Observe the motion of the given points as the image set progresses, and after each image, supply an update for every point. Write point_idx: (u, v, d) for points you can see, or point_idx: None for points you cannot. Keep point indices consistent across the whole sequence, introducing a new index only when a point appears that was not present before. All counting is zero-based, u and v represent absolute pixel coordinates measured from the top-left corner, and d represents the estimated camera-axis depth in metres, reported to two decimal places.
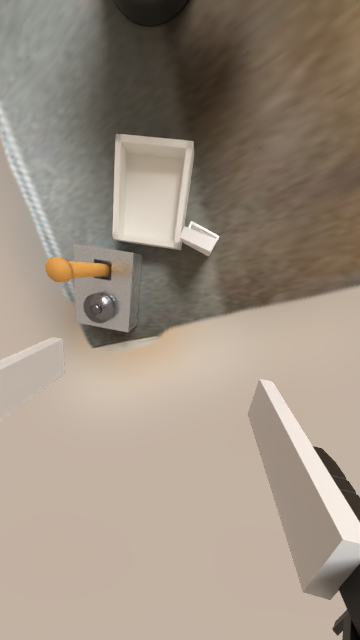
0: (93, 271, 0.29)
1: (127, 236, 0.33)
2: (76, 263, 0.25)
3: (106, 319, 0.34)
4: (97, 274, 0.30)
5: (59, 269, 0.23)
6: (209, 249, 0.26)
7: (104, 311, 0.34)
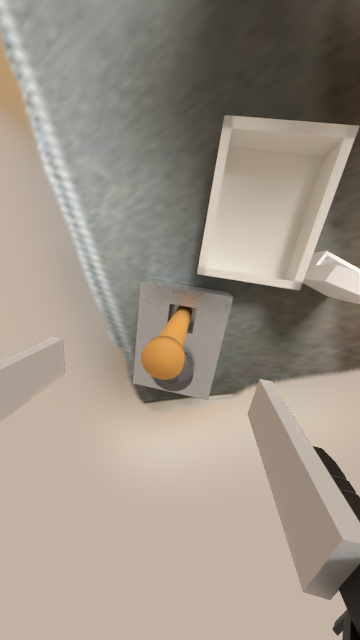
0: None
1: (221, 271, 0.22)
2: (178, 334, 0.15)
3: (183, 387, 0.24)
4: None
5: (167, 360, 0.13)
6: None
7: (181, 376, 0.24)
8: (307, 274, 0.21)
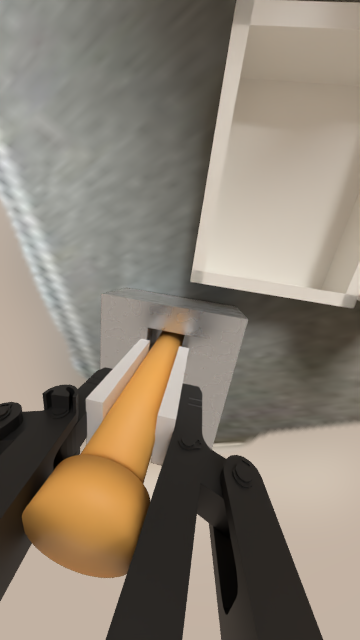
0: None
1: (227, 278, 0.14)
2: (143, 419, 0.07)
3: None
4: None
5: (93, 543, 0.04)
6: None
7: None
8: None
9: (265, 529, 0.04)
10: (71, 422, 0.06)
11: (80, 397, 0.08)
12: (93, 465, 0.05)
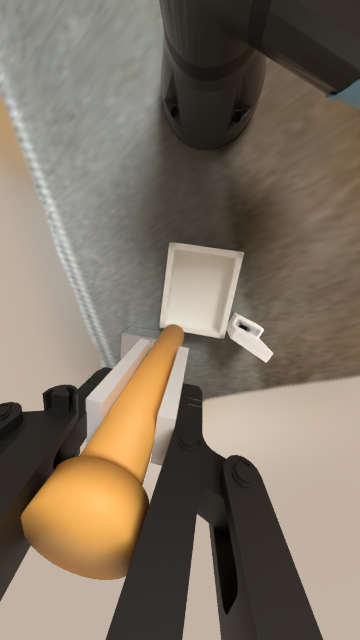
0: None
1: None
2: (142, 420, 0.07)
3: None
4: None
5: (92, 545, 0.04)
6: (264, 360, 0.27)
7: None
8: (228, 328, 0.34)
9: (265, 529, 0.04)
10: (71, 422, 0.06)
11: (80, 397, 0.08)
12: (92, 467, 0.05)
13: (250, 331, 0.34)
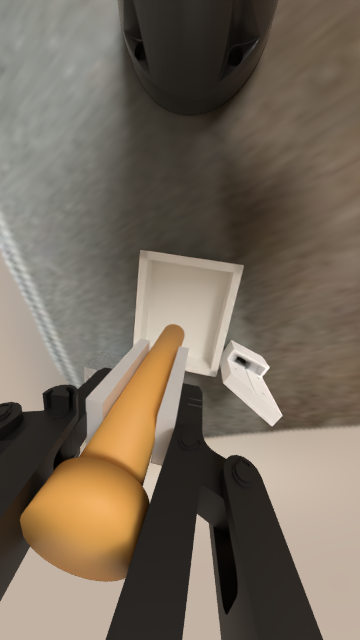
0: None
1: None
2: (143, 421, 0.07)
3: None
4: None
5: (92, 547, 0.04)
6: (269, 422, 0.19)
7: None
8: (222, 364, 0.25)
9: (265, 529, 0.04)
10: (71, 422, 0.06)
11: (80, 397, 0.08)
12: (92, 468, 0.05)
13: (251, 366, 0.26)
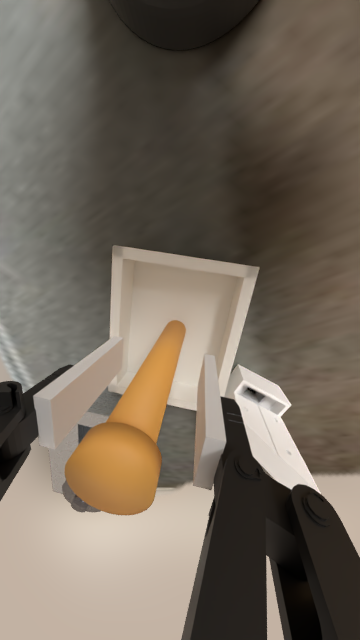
0: (173, 377, 0.12)
1: None
2: (153, 399, 0.08)
3: None
4: None
5: (120, 485, 0.06)
6: None
7: None
8: None
9: (354, 582, 0.04)
10: (15, 417, 0.06)
11: (33, 394, 0.08)
12: (118, 428, 0.06)
13: (265, 400, 0.20)
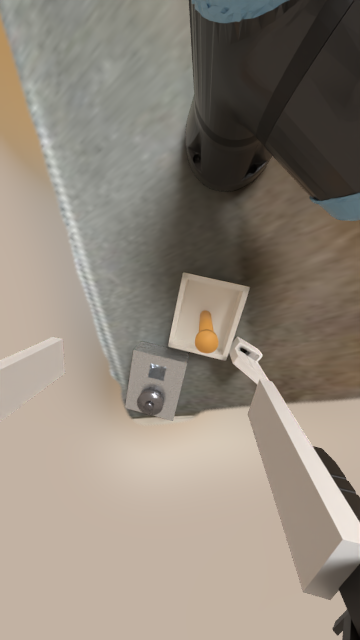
0: None
1: (181, 346, 0.37)
2: (211, 329, 0.26)
3: (156, 413, 0.39)
4: None
5: (209, 342, 0.23)
6: None
7: (155, 407, 0.39)
8: (231, 352, 0.37)
9: None
10: None
11: None
12: (208, 330, 0.24)
13: (250, 355, 0.38)
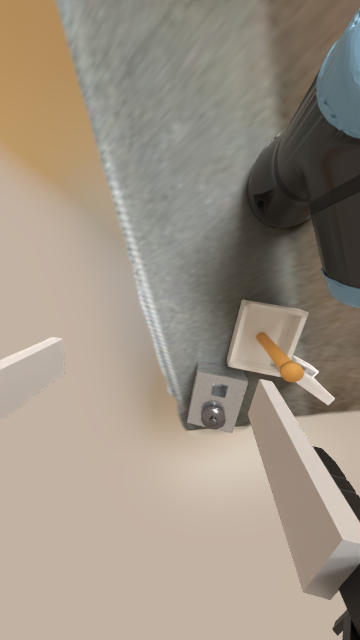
0: None
1: (241, 366, 0.41)
2: (290, 359, 0.29)
3: (219, 427, 0.43)
4: None
5: (296, 373, 0.27)
6: (327, 403, 0.34)
7: (218, 421, 0.42)
8: None
9: None
10: None
11: None
12: (293, 362, 0.27)
13: (304, 370, 0.41)
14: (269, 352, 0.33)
